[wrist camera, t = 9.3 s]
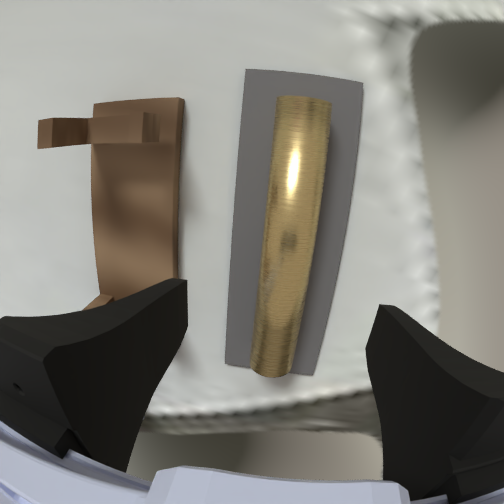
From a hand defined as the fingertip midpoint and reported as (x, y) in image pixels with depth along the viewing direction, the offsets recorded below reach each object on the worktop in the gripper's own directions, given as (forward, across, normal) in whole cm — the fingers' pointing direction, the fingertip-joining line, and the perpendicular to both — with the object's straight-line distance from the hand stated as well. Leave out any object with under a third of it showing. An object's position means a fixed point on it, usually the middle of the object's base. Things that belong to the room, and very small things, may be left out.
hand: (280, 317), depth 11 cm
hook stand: (+9, +10, 0) cm, 14 cm away
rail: (+7, 0, 0) cm, 7 cm away
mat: (+9, 0, 0) cm, 9 cm away
